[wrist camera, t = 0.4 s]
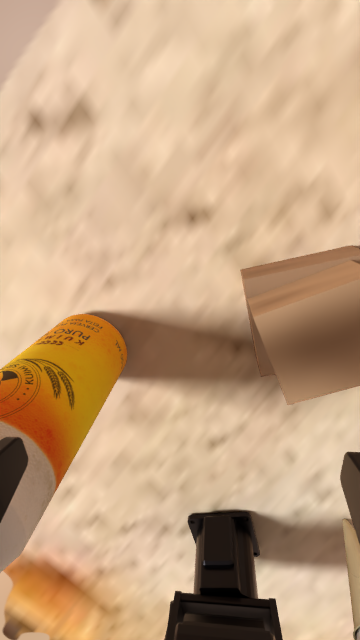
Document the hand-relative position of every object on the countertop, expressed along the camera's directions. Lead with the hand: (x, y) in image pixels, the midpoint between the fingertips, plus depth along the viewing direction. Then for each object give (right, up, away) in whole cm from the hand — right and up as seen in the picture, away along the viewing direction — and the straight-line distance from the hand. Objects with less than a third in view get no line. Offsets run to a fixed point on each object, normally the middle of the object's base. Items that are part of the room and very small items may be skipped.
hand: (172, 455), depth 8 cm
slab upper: (+8, +4, +10) cm, 13 cm away
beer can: (-7, +2, +16) cm, 17 cm away
